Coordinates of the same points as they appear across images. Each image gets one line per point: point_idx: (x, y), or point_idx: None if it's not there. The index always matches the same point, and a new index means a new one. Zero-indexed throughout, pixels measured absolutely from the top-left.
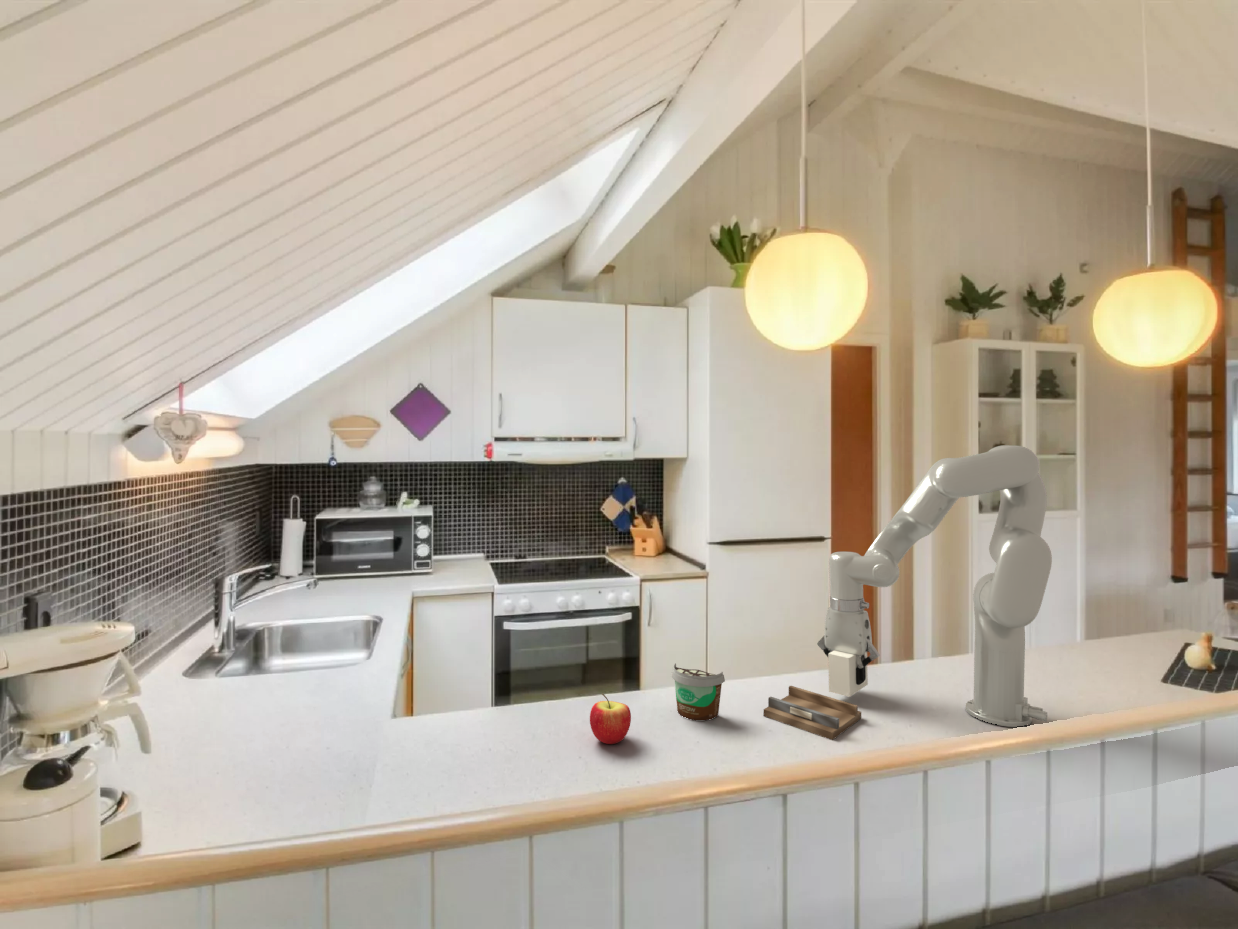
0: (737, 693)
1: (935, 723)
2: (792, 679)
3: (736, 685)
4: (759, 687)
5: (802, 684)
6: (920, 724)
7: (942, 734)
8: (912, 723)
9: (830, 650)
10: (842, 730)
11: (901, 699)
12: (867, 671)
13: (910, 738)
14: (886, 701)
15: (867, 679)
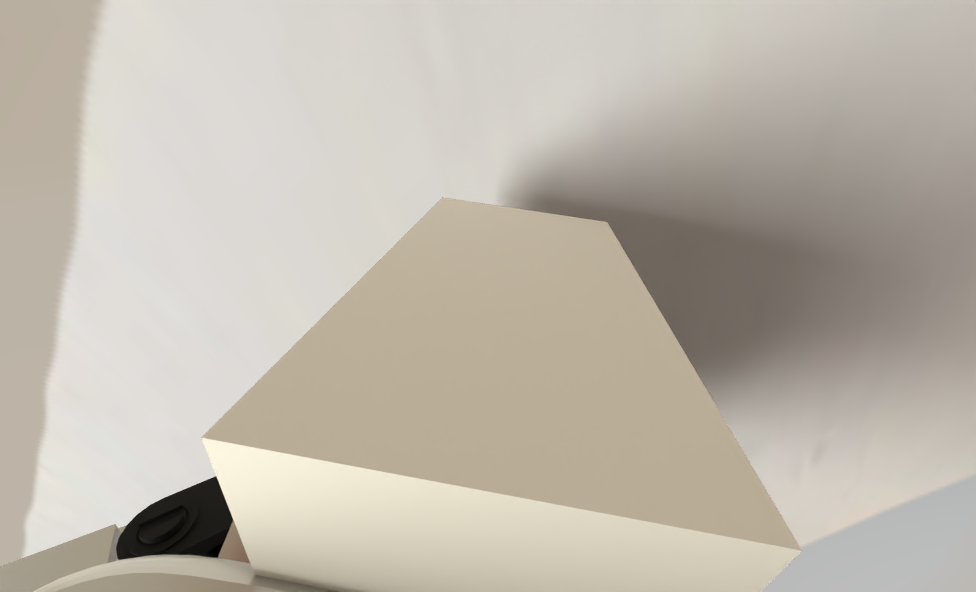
0: (163, 486)
1: (968, 389)
2: (150, 241)
3: (94, 435)
4: (155, 412)
5: (236, 280)
6: (874, 428)
7: (957, 469)
8: (834, 434)
9: (204, 542)
10: None
11: (833, 151)
12: (631, 264)
13: (797, 534)
14: (719, 250)
15: (614, 238)
